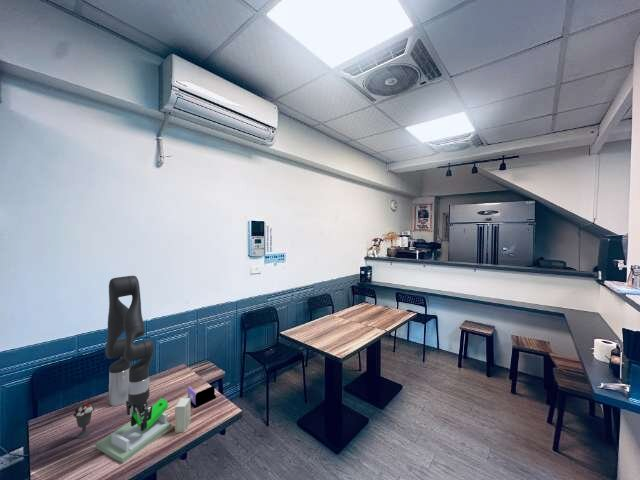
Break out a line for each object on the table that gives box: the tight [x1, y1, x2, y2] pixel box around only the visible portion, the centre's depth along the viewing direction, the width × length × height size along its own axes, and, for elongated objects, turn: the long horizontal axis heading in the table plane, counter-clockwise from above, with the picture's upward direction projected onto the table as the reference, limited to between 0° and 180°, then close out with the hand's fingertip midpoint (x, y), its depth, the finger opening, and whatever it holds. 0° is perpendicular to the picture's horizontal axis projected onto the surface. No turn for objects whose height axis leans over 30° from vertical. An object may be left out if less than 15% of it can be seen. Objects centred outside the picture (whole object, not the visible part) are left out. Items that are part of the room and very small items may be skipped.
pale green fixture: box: [95, 412, 172, 464], centre depth 111 cm, size 18×20×6 cm
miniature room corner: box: [186, 385, 217, 409], centre depth 138 cm, size 12×12×7 cm
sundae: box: [72, 398, 95, 440], centre depth 112 cm, size 7×7×15 cm
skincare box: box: [174, 397, 191, 433], centre depth 116 cm, size 6×4×12 cm
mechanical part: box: [133, 397, 169, 430], centre depth 116 cm, size 12×6×8 cm, turn 157°
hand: (138, 427), depth 110 cm, fingers closed on mechanical part, 6 cm apart
